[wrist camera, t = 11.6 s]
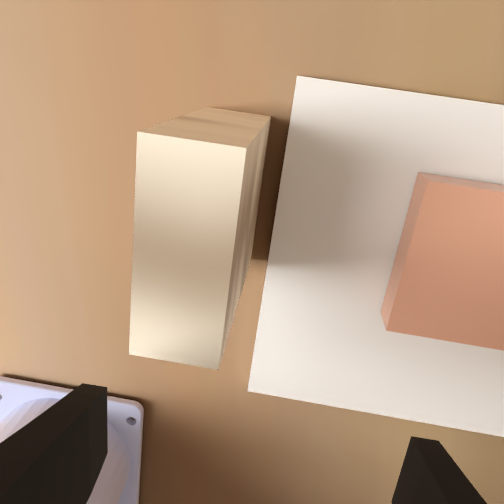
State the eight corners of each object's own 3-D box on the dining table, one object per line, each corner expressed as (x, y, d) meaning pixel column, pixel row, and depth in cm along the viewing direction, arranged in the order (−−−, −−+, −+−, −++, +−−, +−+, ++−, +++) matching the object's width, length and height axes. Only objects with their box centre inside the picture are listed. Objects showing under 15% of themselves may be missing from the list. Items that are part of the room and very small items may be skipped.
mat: (589, 445, 21) (595, 453, 21) (248, 384, 22) (247, 390, 22) (749, 140, 16) (763, 142, 16) (297, 75, 17) (297, 75, 17)
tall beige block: (250, 259, 20) (218, 370, 13) (193, 250, 20) (128, 353, 13) (271, 116, 18) (246, 147, 10) (207, 106, 18) (137, 131, 10)
